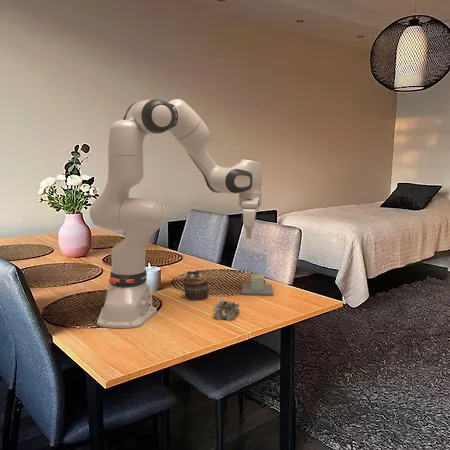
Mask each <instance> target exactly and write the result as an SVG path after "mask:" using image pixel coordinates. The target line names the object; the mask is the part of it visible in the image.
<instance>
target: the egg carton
mask: <svg viewBox="0 0 450 450" xmlns="http://www.w3.org/2000/svg"><path fill="white" fill-rule="evenodd" d="M239 308H240V303H239V302H238V303H235V301H233V302H232V301H228V300H226V301H225V300H223V299H220V301H218V303H217V304H216V305H215V306H214V307H213V308H212V310H213V313H214V314H213V315H214V319H217V320H219V321H220V320H226V321H227V322H230V321H234V320H235V318H236V317H237V314H238V313H239ZM223 310H224V312H222V311H223Z"/></svg>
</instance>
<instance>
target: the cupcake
mask: <svg viewBox="0 0 450 450" xmlns="http://www.w3.org/2000/svg"><path fill="white" fill-rule="evenodd" d="M182 286H183V289H184V294H185V298H186V299H187V300H190V301H193V302H194V301H198V302H199V301H204V300H206V299H207V298H208V292H209V288H210V284H209V282H208V279H207V277H205V276H204V275H203V274H202V273H201V272H200V270H198V269H197V270H195V271H190V270H188V271H187V273H186V276H185V277H184V278H183V283H182Z"/></svg>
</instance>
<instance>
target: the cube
mask: <svg viewBox="0 0 450 450" xmlns="http://www.w3.org/2000/svg"><path fill="white" fill-rule="evenodd" d="M250 284H251V290H264V284H265V274H261V273H258V274H256V273H255V274H254V273H251V274H250Z"/></svg>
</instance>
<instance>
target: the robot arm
mask: <svg viewBox="0 0 450 450" xmlns="http://www.w3.org/2000/svg"><path fill="white" fill-rule="evenodd" d="M167 131H169V132H170V133H171V134H172V135H173V136H174V138H175V139H176V140H177V141H178V143H179V144H181V146H182V147H183V148H184V150H185V151H186V153H187V155H188V156H189V157H190V159H191V160H192V162H193V163H194V164H195V166H196V167H197V169H198V170H199V172H201V175H202V176H203V178H204V181H205V184H206V186H207V187H208V189H209V190H210V191H211V192H212V193H216V194H217V193H218V194H219V193H225V194H232V195H233V194H238V206H239V207H240V209H241V211H242V222H243V227H244V229H245V233H246V234H245V235H246V236H245V237H246V239H247V240H249V239H250V240H251V239H252V234H253V233H252V232H253V229H254V227H255V223H256V215H257V211H258V210H259V208H260V207H262V201H263V199H262V198H263V197H262V195H263V194H262V193H263V192H262V184H263V168H262V164H261V162H260V161H259V160H256V159H252V158H243V159H241V160H240V162H238V163H237V164H235V165H233V166H231V167H224V166H220V165H219V164H217V163H215V161H214V160H213V158H212V157H211V155H210V154H209V153H208V150H207V149H206V147H207V145H208V144H209V142H210V138H211V132H210V130H209V128H208V126H207V124H206V123H205V122H204V120H203V119H202V118H201V117H200V116H199V114H198V113H197V112H196V111H195V110H194V109H193V108H192V107H191V106H190V105H189V104H188V103H186V102H185V101H184V100H183V99H181V98H174V99H172V100H169V101H168V102H167V101H164V100H162V99H159V98H158V99H157V98H155V99H144V100H140V101H137V102H133V103H132V104H131V105H130V106H128V108H127V110H126V112H125V114H124V116H123V118H122V119H120V120H116V121H115V122H113V123H112V124H111V126H110V129H109V134H108V135H109V136H108V147H107V150H108V152H107V155H108V156H107V157H108V158H107V159H108V161H107V164H108V169H107V171H108V173H107V181H106V185H105V187H104V190H103V192H102V193H101V194H100V195H99V196H98V197H97V198H96V199H95V200H94V201H93V202H92V204H91V206H90V209H89V217H90V221H91V222H92V224H93V225H94V226H96V227H99V228H101V229H105V230H111V231H112V230H113V231H124V232H125V237H124V239H123V240H121V241H119V242H118V243H116V244H114V246H113V247H112V249H111V252H110V255H111V256H110V257H111V258H110V259H111V271H110V275H109V278H108V284H109V285H108V286H107V287H108V289H107V292H106V297H105V300H104V305H103V306H102V308H101V309H100V310H101V311H100V313H99V316H98V319H97V321H96V325H97V326H99V327H102V328H103V327H104V328H110V329H111V328H115V329H130V328H131V329H133V328H137V327H140V326H141V325H143V324H145V322H147V321H148V320H149V319H150V318H152V317H153V316H154V315H155V314H156V313H157V312H158V310H157V307H155V306H153V295H152V287H151V286H150V285H149V284H148V282H147V276H148V274H147V270H146V251H147V246H148V243H149V240H150V239H151V237H152V236H153V235H154V234H155V233H156V232H157V231H158V230H159V229H161V227H162V226H163V224H164V222H165V219H166V213H165V208H164V206H163V205H162V203H161V202H159V201H157V200H154V199H150V198H143V197H130V196H129V194H130V191H131V188H133V187H135V186H137V185H138V184H139V183H141V181H142V180H143V179H144V147H143V145H144V142H145V141H144V140H145V139H146V136H147V135H156V134H163V133H165V132H167Z"/></svg>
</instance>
